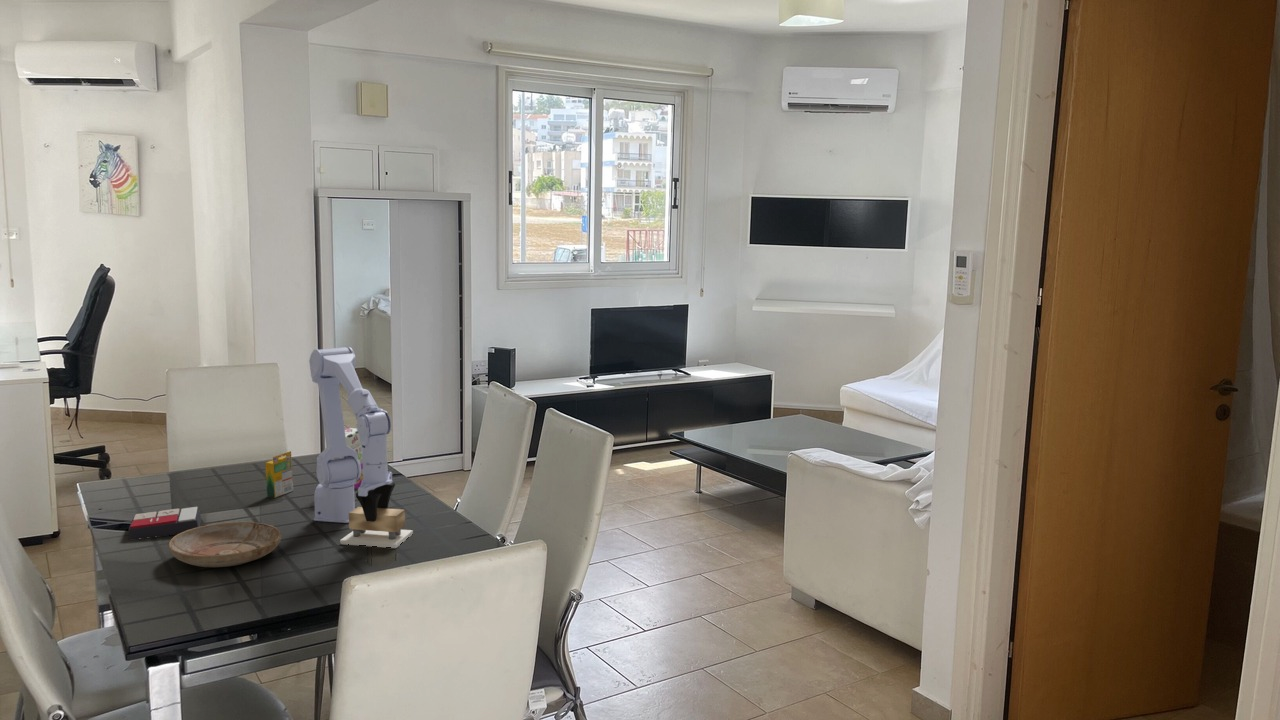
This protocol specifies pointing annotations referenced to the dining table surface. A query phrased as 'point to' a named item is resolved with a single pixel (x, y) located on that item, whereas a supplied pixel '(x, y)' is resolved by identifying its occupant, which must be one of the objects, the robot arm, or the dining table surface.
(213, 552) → the ceramic bowl
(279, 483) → the crayon box
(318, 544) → the dining table surface
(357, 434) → the candy bar box
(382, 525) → the tan rectangular block
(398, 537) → the peg stand
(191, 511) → the black box with panels
